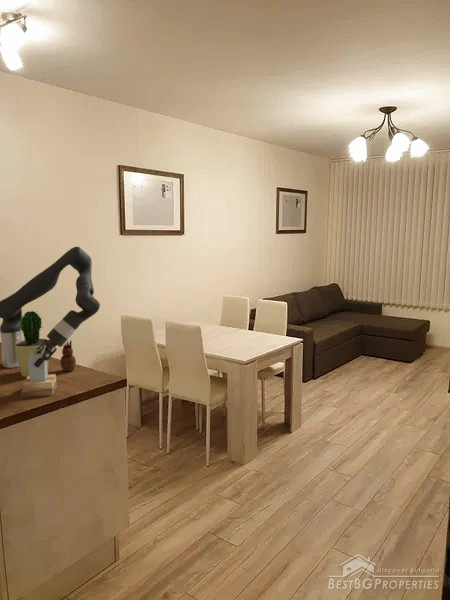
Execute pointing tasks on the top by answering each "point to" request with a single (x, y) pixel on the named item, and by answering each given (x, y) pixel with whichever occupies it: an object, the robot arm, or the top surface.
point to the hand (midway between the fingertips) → (33, 363)
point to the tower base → (39, 392)
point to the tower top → (40, 384)
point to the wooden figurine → (67, 358)
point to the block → (37, 369)
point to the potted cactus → (28, 340)
